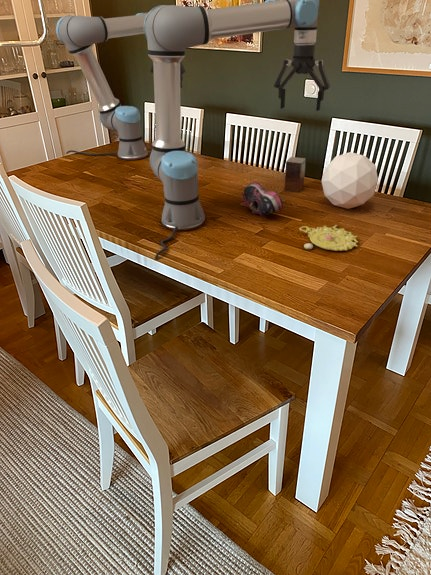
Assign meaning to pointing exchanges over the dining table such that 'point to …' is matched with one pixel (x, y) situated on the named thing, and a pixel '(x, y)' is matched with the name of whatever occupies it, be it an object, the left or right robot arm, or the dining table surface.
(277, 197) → the athletic shoe
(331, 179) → the sphere
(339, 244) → the decorative object
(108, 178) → the dining table surface
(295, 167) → the block
